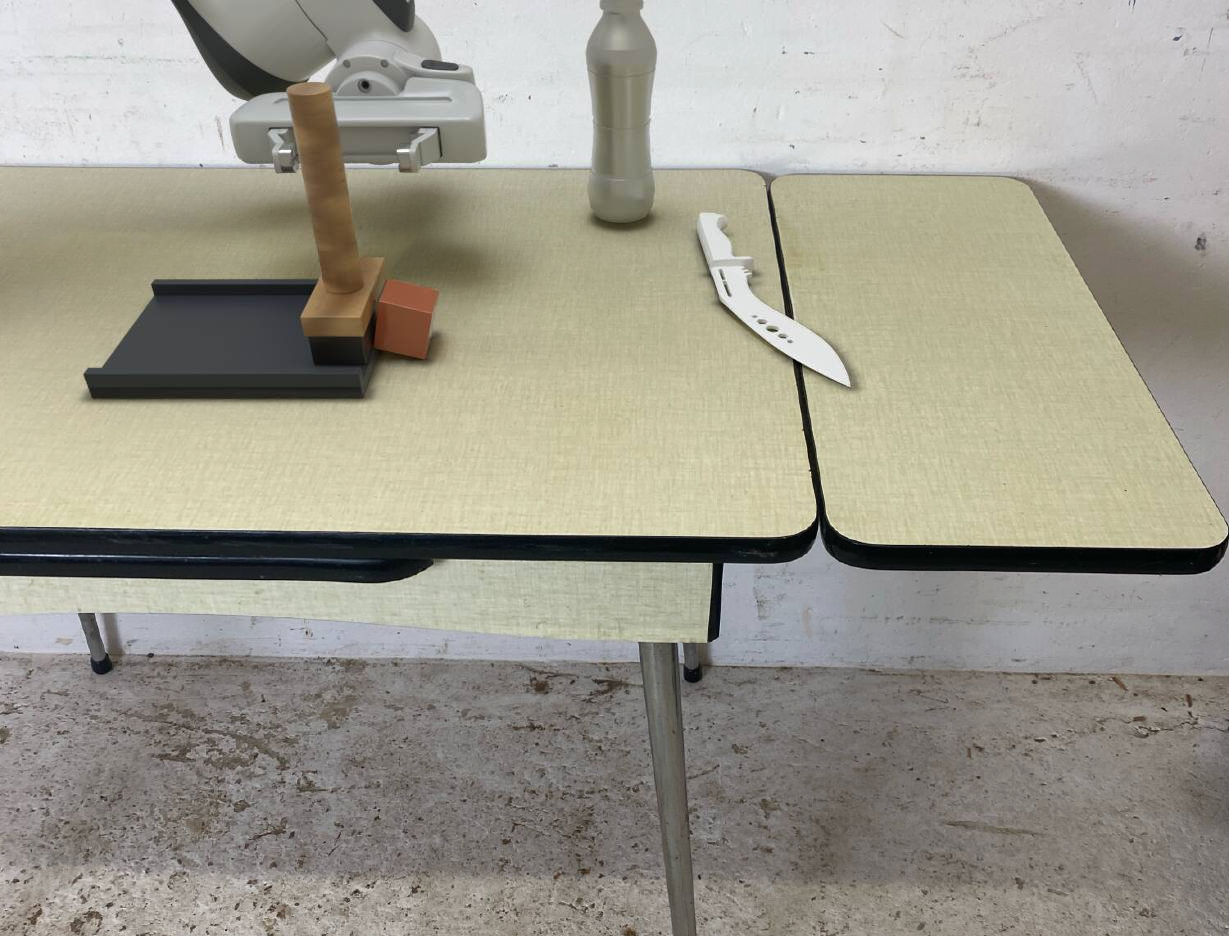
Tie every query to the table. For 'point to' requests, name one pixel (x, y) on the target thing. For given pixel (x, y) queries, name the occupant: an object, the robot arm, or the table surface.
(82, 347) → the table surface
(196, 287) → the tray
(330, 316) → the brush
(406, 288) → the block
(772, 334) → the knife
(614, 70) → the plastic bottle
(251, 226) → the table surface
